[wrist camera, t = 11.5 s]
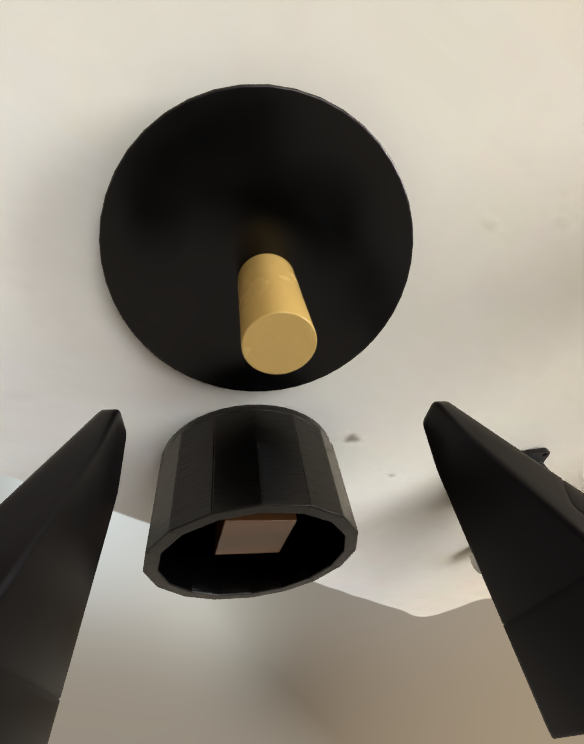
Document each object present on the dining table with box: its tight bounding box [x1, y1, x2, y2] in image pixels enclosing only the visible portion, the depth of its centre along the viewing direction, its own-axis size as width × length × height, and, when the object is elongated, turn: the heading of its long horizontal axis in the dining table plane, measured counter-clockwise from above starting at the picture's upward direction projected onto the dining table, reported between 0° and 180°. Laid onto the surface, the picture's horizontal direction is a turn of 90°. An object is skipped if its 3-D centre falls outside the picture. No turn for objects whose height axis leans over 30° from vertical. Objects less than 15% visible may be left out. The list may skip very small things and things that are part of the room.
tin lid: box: [99, 84, 413, 391], centre depth 14 cm, size 14×14×6 cm
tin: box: [143, 405, 358, 599], centre depth 23 cm, size 13×13×7 cm
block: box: [215, 513, 297, 555], centre depth 23 cm, size 4×4×5 cm
